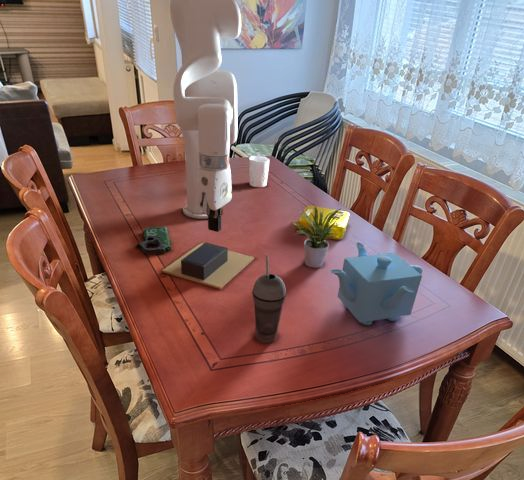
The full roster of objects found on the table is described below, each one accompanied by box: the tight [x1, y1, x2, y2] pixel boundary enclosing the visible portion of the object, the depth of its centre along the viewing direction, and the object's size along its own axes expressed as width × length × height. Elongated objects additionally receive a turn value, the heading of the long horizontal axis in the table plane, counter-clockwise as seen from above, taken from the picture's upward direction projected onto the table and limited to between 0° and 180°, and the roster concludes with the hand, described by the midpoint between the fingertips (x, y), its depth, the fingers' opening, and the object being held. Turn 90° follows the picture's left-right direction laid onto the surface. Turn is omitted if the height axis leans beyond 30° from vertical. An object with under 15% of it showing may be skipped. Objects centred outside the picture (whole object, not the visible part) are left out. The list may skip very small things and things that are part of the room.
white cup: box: [248, 155, 270, 188], centre depth 184 cm, size 8×8×10 cm
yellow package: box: [297, 205, 350, 241], centre depth 154 cm, size 15×15×5 cm
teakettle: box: [329, 242, 423, 326], centre depth 112 cm, size 19×19×15 cm
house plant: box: [290, 204, 342, 269], centre depth 131 cm, size 14×14×16 cm
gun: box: [135, 225, 172, 255], centre depth 140 cm, size 16×2×10 cm
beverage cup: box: [251, 253, 287, 344], centre depth 99 cm, size 7×7×20 cm
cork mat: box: [162, 242, 255, 290], centre depth 131 cm, size 20×18×1 cm
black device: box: [181, 242, 229, 280], centre depth 127 cm, size 4×7×13 cm
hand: (214, 229), depth 127 cm, fingers closed
